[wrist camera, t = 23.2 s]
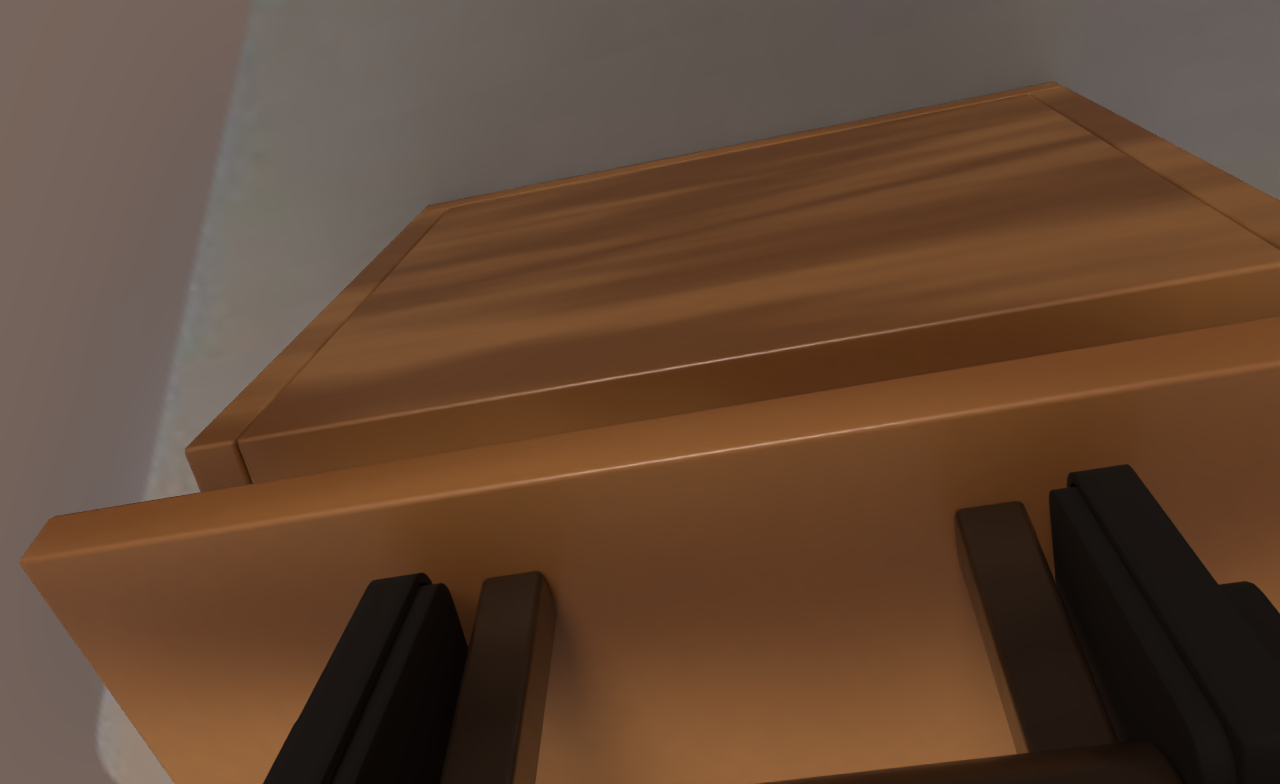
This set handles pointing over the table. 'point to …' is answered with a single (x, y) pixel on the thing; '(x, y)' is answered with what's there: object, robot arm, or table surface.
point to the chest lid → (704, 579)
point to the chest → (758, 282)
